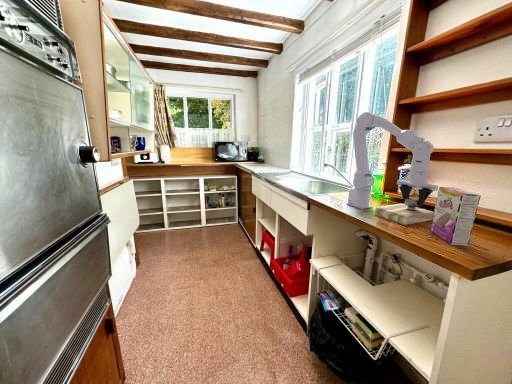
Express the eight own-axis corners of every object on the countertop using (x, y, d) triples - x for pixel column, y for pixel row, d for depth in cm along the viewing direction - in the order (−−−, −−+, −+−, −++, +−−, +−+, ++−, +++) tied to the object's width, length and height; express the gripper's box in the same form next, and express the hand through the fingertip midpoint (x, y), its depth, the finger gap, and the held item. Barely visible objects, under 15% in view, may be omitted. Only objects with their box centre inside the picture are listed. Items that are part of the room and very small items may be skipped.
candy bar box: (428, 231, 76) (438, 186, 72) (444, 232, 75) (455, 187, 71) (449, 245, 65) (462, 193, 61) (469, 247, 64) (482, 194, 60)
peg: (400, 211, 91) (402, 198, 89) (408, 210, 92) (411, 197, 91) (412, 214, 86) (415, 201, 84) (421, 213, 87) (424, 200, 86)
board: (374, 214, 93) (375, 207, 92) (400, 210, 99) (401, 203, 98) (405, 225, 81) (406, 216, 80) (431, 219, 87) (433, 211, 87)
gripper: (394, 170, 90) (389, 200, 93) (432, 174, 77) (425, 210, 80) (405, 169, 93) (400, 199, 96) (444, 173, 80) (436, 208, 83)
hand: (412, 204), depth 88 cm, fingers closed on peg, 5 cm apart
